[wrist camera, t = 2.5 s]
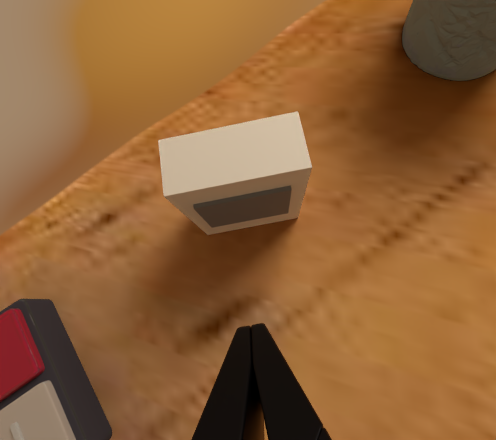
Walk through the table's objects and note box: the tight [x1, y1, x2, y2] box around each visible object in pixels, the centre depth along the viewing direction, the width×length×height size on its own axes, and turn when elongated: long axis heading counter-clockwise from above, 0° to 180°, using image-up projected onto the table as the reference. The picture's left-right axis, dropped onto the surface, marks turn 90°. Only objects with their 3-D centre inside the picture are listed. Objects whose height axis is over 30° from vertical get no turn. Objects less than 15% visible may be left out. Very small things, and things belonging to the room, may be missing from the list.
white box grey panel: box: [158, 112, 312, 235], centre depth 18 cm, size 3×7×9 cm, turn 100°
